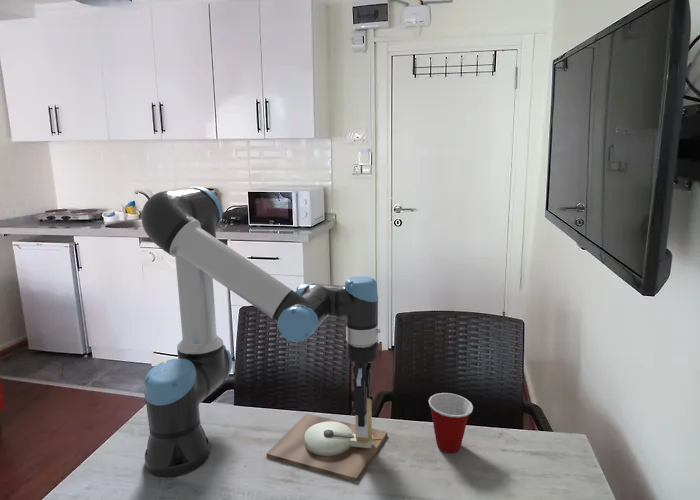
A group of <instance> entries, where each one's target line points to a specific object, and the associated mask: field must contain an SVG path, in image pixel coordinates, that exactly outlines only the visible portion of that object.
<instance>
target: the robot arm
mask: <svg viewBox="0 0 700 500" xmlns="http://www.w3.org/2000/svg"><path fill="white" fill-rule="evenodd" d="M222 218H223V208H222V204H221V201H220V200H219V199H218V196H216V195H215V194H214V193H213V192H212V191H211V190H209V189H207V188H205V187H202V186H186V187H184V186H183V187H180V188H175V189H171V190H162V191H159V192H157V193H155V194H154V195H153V194H152V195H151V196H150V197H149V198H148V200H146V202H145V203H144V205H143V208H142V210H141V225H142V227H143V230H144V232H145V234H146V235H147V237H148V238H149V239H150V240H151V241H152V242H153V243H154V244H155V245H156V246H157V247H158V248H159V249H161V250H162V251H164V252H166V253H167V254H168V255H170V256H171V257H174V258H175V268H176V279H177V290H178V303H179V312H180V324H181V335H182V336H181V337H182V340H181V341H179V343H178V344H177V346H176V349H177V358H172V359H167V360H166V362H160V363H158V364H156V365H154V366H153V367H152V368H151V369H150V370H148V372H147V373H146V374H145V375H146V376H145V377H144V390H143V393H144V398H145V405H146V414H147V421H148V427H149V428H148V430H149V435H148V441H147V444H146V446H147V447H146V449H145V452H144V463H145V468H146V470H147V471H148V473H151V475H154V476H157V477H163V478H164V477H165V478H167V477H177V476H182V475H186V474H189V473H191V472H193V471H195V470H197V469H198V468H199V467H201V466H203V464H205V463H206V462H207V461H208V460H209V457H210V455H211V445H210V444H211V443H210V440H209V437H207V434H206V432H205V430H204V428H203V426H202V424H201V417H200V414H201V413H200V404H202V402H203V401H204V400H206V398H208V397H209V396H210V395H211V394H212V393H213V392H214V391H215V390H216V389H217V388H219V387H221V385H222V384H223V383H224V382H225V381H226V380H227V378H228V377H229V375H230V374H231V372H232V367H233V358H232V354H231V352H230V350H229V349H227V347H226V345H224V340H223V339H222V338H221V337H220V336H219V335H218V334H217V321H216V320H217V319H216V309H215V308H216V306H215V305H216V304H215V293H214V280H215V281H216V282H217V283H219V284H220V285H222V286H224V287H225V288H227V289H228V290H230V292H231V291H232V293H234V294H236V295H237V296H239V297H240V298H242V299H243V300H245V301H246V302H247V303H249V304H250V305H251V306H253V307H255V308H256V309H258V310H259V311H260V312H262V313H263V314H265V315H266V316H268V317H269V318H271V319H272V320H273V321H275V322H276V323H277V329H278V331H279V333H280V335H281V336H282V337H283V338H284V339H285V340H287V341H289V342H294V343H300V342H303V341H305V340H307V339H308V338H309V337H311V336H313V334H314V333H315V332H317V330H318V328H319V327H320V326H321V324H322V323H323V322H324V321H325V320H326V319H327V318H328V317H330V318H345V341H346V344H345V345H346V358H347V359H348V360H349V361H351V362H353V363H354V366H353V368H352V370H353V379H352V382H353V393H354V394H353V398H354V399H353V400H354V401H353V402H354V403H353V404H354V406H353V407H354V409H353V410H352V414H354V416H355V415H356V437H364V438H368V412H367V398H369V399H371V402H373V400H374V396H371V394H372V389H371V388H372V381H371V380H372V379H371V377H372V367H373V365H372V364H373V362H374V361H375V360H377V359H378V357H379V343H378V340H379V334H380V333H381V329H380V328H378V325H379V317H378V315H379V309H378V308H379V293H378V283H377V281H376V280H375V278H374V277H371V276H366V275H359V276H350V277H348V278H346V280H345V282H344V284H343V285H337V284H333V285H332V284H323V283H322V284H321V283H302V284H299V285H298V286H297V287H296V291H294V290H293V289H292V288H290V287H288V286H287V285H286V284H285V283H282V282H281V281H279V280H278V279H276V277H274V276H272V275H271V274H269V273H268V272H267V271H265V270H263V269H262V268H261V267H259V266H258V265H256V264H255V263H253V262H251V261H250V260H249V259H247V258H246V257H245V256H243V255H241V254H240V253H238V252H237V251H235V250H234V249H233V248H231V247H229V246H228V245H227V244H225V243H224V242H222V241H221V240H219V239H218V238H217V235H216V234H217V233H216V228H217V227H218V226H219V224H220V223H221V220H222Z"/></svg>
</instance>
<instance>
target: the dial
mask: <svg viewBox="0 0 700 500" xmlns="http://www.w3.org/2000/svg"><path fill="white" fill-rule="evenodd" d="M372 409H373V407H372V401H371V399H369V398H367V412H368V438H364V437H356V434H352V431H351V429H350V428H349V427H348V426H347V425H345V424H342V423H339V422H321V423H318V424H315V425H313V426H311V427H310V428H308V429H307V431H306V432H305V446H306V448H307V450H309V451H310V452H311V453H313V454H316V455H320V456H334V455H339V454H341V453H344V452H345V451H347V450H348V449H349V448H350V447H351V446H353V447H363V448H371V446H372V443H373V436H372V429H373V425H372V423H373V420H372V418H373V417H372V415H373V413H372ZM354 417H355V418H354V420H355V423H354V424H355V428H356V415H355V414H354Z"/></svg>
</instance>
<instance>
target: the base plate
mask: <svg viewBox="0 0 700 500" xmlns="http://www.w3.org/2000/svg"><path fill="white" fill-rule="evenodd" d="M321 422H339V423H342V424H345V425H347V426H348V427H349V428H350V429H351V431H352V434H356V428H355V423H351V422H345V421H341V420H336V419H333V418H328V417H323V416H319V415H315V414H311V413H305V414H304V415H303V416H302V417H301V418H300V419H299V420H298V421H297V422H296V423H295V424H294V425H293V426H292V427H291V428H290V429H289V430H288V431H287V432H286V433H285V434H284V435H283V436H282V437H281V438H280V439H279V440H278V441H277V442H276V443H275V444H274V445H273V446H272V447H271V448H270V449H269V450H268V451H267V452H266V453H265V455H266V458H269V459H272V460H276V461H279V462H282V463H283V462H284V463H287V464H289V465H290V464H291V465H293V466H294V465H295V466H297V467H301V468H304V469H307V470H311V471H315V472H319V473H321V474H325V475H326V474H327V475H329V476H334V477H336V478H340V479H343V480H347V481H351V482H354V483H358V481H359V479H360V478H361V476H362V475H363V473H364V472H365V470H366V469H367V467H368V465H370V462H371V461H372V459H373V458H374V457H375V455H376V453H377V452H378V450H379V449H380V447H381V446H382V444H383V443H384V441H385V440H386V438H388V437H387V436H388V431H385V430H381V429H377V428H372V436H373V443H372V446H371V448H363V447H353V446H351V447H350V448H349V449H348V450H347V451H345V452H344V453H341V454H339V455H334V456H320V455H316V454H313V453H311V452H310V451H309V450H307V448H306V446H305V432H306V431H307V429H308V428H310V427H311V426H313V425H315V424H318V423H321Z"/></svg>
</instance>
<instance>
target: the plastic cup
mask: <svg viewBox="0 0 700 500" xmlns="http://www.w3.org/2000/svg"><path fill="white" fill-rule="evenodd" d="M428 404H429V405H428V406H429V407H430V410H431V411H430V412H431V416H432V417H431V418H432V425H433V431H434V435H435V442H436V445H437V448H438V449H439V450H440V451H442V452H443V453H444V452H445V453H449V454H453V453H457V452H458V451H459V450H461V447H462V444H463V443H462V442H463V438H464V435H465V433H466V432H465V430H466V426H467V423H468V419H469V417H470V415H471V414H472V412H473V409H474V406H473V404H472V402H471V401H470V400H468V399H467V398H465V397H464V396H462V395H459V394H456V393H451V392H450V393H449V392H441V393H435V394H433V395H431V396H430V397H429V398H428Z"/></svg>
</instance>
